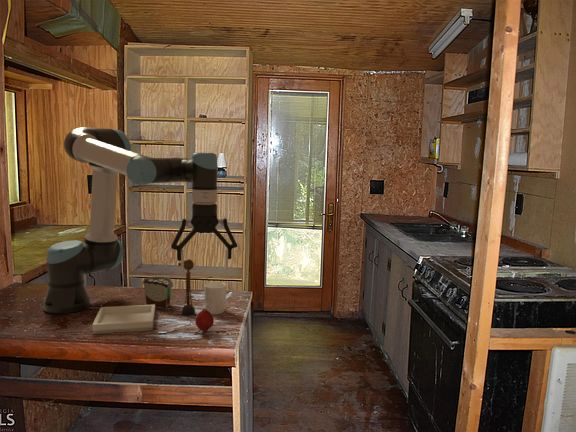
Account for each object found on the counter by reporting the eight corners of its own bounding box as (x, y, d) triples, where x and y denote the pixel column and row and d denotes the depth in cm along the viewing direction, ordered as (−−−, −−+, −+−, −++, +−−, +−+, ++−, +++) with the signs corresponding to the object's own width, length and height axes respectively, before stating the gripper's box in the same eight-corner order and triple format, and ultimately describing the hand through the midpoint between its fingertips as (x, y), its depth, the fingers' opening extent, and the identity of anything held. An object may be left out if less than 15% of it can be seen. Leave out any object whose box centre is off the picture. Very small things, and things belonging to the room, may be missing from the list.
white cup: (221, 316, 157) (221, 288, 156) (200, 313, 159) (200, 286, 157) (229, 308, 165) (229, 282, 163) (208, 306, 166) (209, 280, 165)
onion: (196, 328, 146) (196, 304, 145) (214, 328, 147) (214, 304, 146) (194, 335, 140) (194, 311, 139) (212, 335, 141) (212, 311, 140)
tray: (92, 334, 139) (92, 324, 139) (100, 315, 154) (100, 307, 154) (152, 330, 143) (152, 321, 143) (155, 312, 159) (155, 304, 158)
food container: (180, 305, 167) (180, 279, 166) (169, 310, 162) (169, 283, 160) (154, 299, 172) (154, 274, 171) (143, 304, 167) (142, 278, 165)
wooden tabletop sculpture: (176, 315, 157) (176, 260, 154) (181, 310, 161) (181, 256, 158) (192, 316, 156) (192, 261, 153) (197, 312, 160) (197, 257, 158)
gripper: (162, 204, 131) (163, 274, 134) (246, 204, 137) (245, 271, 140) (163, 201, 138) (163, 268, 141) (243, 201, 144) (242, 265, 147)
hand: (204, 270), depth 140 cm, fingers open, 13 cm apart
